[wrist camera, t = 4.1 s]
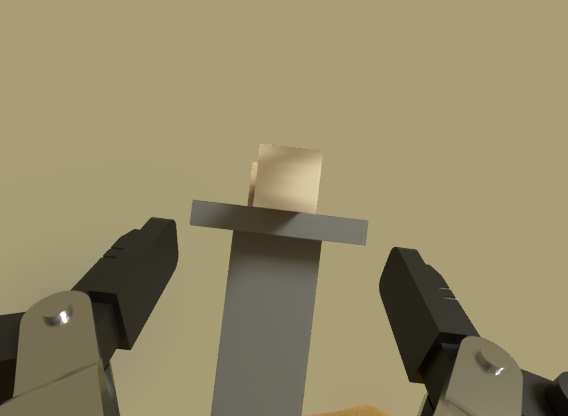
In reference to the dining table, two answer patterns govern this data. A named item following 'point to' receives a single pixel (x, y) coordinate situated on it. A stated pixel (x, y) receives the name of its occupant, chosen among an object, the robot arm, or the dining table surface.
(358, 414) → the dining table surface
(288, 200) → the beech lever bar
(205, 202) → the charcoal pedestal
